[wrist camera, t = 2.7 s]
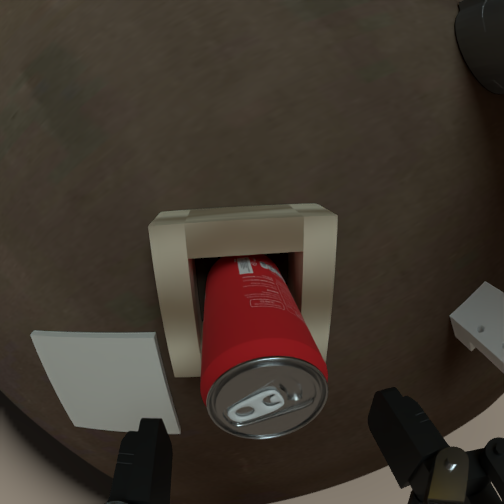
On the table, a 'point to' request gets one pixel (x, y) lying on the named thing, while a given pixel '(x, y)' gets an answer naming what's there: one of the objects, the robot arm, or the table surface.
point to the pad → (108, 378)
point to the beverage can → (257, 352)
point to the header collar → (234, 244)
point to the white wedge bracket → (482, 323)
